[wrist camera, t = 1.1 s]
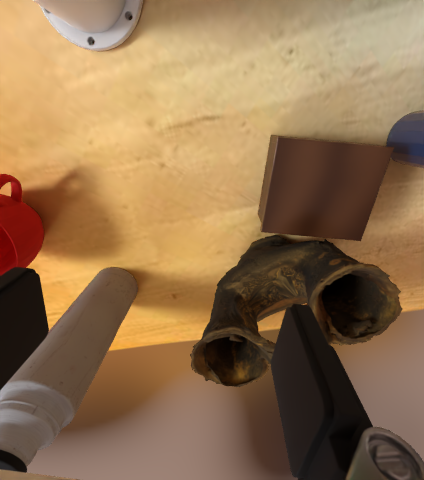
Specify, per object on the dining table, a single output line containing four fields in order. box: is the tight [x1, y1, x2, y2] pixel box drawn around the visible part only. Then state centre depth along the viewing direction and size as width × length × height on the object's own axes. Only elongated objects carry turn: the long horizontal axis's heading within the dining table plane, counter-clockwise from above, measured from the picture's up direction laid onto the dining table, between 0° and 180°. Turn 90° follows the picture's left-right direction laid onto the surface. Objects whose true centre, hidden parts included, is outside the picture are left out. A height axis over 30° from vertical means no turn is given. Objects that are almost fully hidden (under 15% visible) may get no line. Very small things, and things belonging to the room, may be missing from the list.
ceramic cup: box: [0, 174, 44, 276], centre depth 37 cm, size 13×17×10 cm
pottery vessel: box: [190, 235, 402, 387], centre depth 35 cm, size 25×11×20 cm, turn 121°
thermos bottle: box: [0, 267, 138, 473], centre depth 34 cm, size 8×8×28 cm
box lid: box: [261, 137, 394, 241], centre depth 31 cm, size 13×12×1 cm
